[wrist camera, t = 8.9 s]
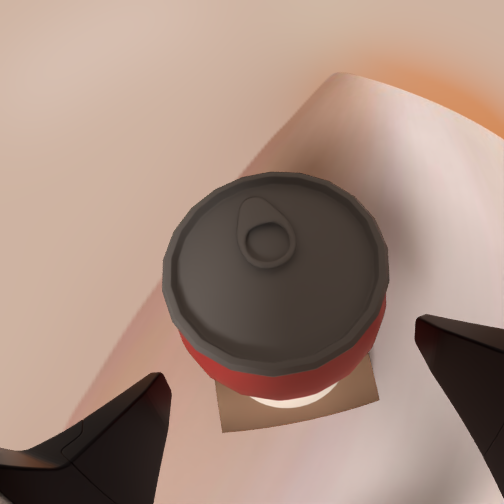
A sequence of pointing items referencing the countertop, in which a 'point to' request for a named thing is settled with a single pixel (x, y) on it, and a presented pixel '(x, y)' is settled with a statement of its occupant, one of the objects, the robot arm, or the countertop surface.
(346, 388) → the walnut pedestal
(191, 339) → the beer can
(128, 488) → the robot arm
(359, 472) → the countertop surface
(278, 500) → the countertop surface
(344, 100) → the countertop surface
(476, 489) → the countertop surface
